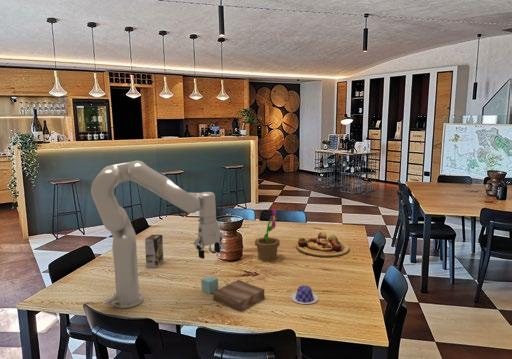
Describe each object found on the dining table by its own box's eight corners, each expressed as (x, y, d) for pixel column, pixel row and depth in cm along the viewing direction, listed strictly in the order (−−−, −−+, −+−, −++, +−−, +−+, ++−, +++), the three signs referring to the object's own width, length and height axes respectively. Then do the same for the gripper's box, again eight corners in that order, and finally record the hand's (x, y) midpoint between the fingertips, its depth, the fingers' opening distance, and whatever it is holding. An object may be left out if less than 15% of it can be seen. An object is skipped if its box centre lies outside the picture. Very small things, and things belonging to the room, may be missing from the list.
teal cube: (209, 293, 174) (209, 282, 173) (201, 290, 177) (201, 279, 176) (218, 289, 178) (217, 278, 177) (210, 286, 181) (210, 275, 180)
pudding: (285, 298, 169) (285, 287, 168) (303, 290, 176) (303, 279, 175) (305, 308, 159) (305, 296, 159) (323, 299, 167) (324, 288, 166)
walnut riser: (239, 311, 157) (239, 302, 156) (213, 300, 167) (213, 291, 166) (264, 297, 169) (264, 289, 168) (238, 287, 179) (238, 279, 178)
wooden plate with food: (292, 256, 221) (293, 242, 220) (299, 239, 252) (299, 227, 250) (348, 261, 214) (349, 247, 212) (349, 243, 244) (349, 230, 243)
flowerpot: (276, 264, 208) (275, 211, 204) (251, 261, 213) (250, 209, 208) (282, 255, 222) (282, 205, 217) (259, 252, 226) (259, 203, 222)
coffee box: (156, 268, 204) (155, 239, 202) (146, 267, 206) (144, 238, 203) (164, 262, 213) (162, 234, 211) (153, 261, 214) (152, 233, 212)
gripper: (198, 224, 163) (200, 262, 166) (227, 216, 176) (228, 251, 179) (187, 222, 168) (189, 258, 171) (216, 214, 181) (217, 248, 184)
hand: (209, 255), depth 175 cm, fingers open, 9 cm apart
